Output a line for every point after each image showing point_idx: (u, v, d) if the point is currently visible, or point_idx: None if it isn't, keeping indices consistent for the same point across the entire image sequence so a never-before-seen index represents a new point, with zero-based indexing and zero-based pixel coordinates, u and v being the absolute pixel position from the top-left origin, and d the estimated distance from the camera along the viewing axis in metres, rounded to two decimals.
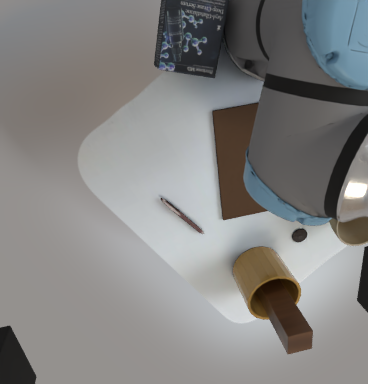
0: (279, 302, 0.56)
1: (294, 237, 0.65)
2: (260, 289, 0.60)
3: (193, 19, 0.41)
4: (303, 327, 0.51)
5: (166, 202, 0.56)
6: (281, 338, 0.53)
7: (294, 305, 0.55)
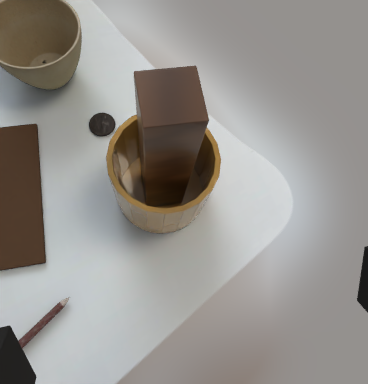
0: (141, 151, 0.26)
1: (103, 131, 0.39)
2: (152, 187, 0.30)
3: None
4: (136, 94, 0.21)
5: None
6: (189, 139, 0.22)
7: (137, 119, 0.25)
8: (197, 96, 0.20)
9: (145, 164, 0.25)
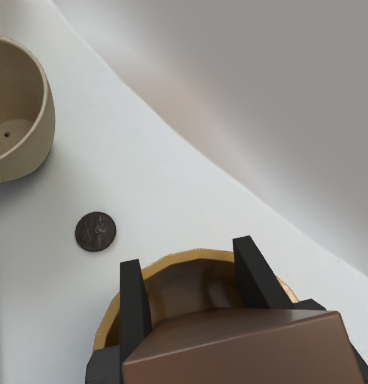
0: None
1: (97, 245, 0.24)
2: None
3: None
4: None
5: None
6: None
7: None
8: None
9: None
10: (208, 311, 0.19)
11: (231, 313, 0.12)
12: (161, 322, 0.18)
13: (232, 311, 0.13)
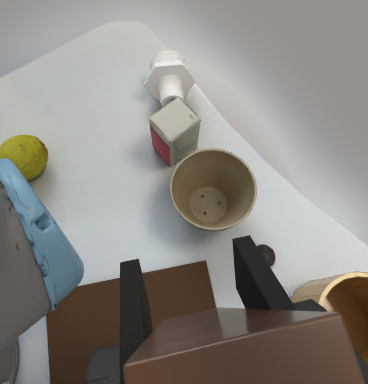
0: None
1: None
2: None
3: None
4: None
5: None
6: None
7: None
8: None
9: None
10: (208, 311, 0.19)
11: (232, 314, 0.12)
12: (161, 322, 0.18)
13: (233, 312, 0.13)
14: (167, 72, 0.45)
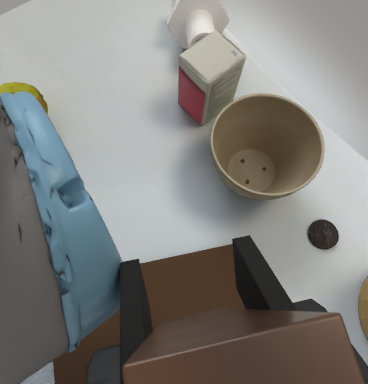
0: None
1: (327, 244, 0.33)
2: None
3: None
4: None
5: None
6: None
7: None
8: None
9: None
10: (208, 312, 0.19)
11: (231, 314, 0.12)
12: (161, 323, 0.18)
13: (232, 312, 0.13)
14: (196, 6, 0.36)
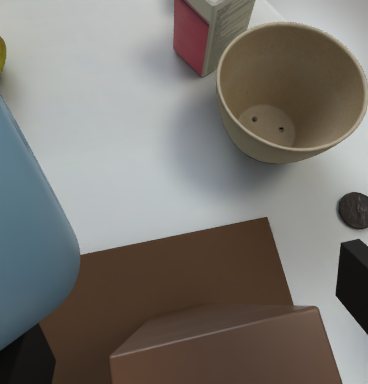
0: None
1: (363, 223, 0.26)
2: None
3: None
4: None
5: None
6: None
7: None
8: None
9: None
10: (198, 307, 0.19)
11: (219, 308, 0.12)
12: (152, 317, 0.18)
13: (221, 307, 0.14)
14: None
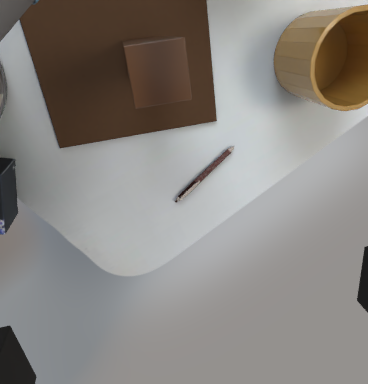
0: None
1: None
2: None
3: None
4: None
5: (180, 197, 0.46)
6: None
7: None
8: (183, 74, 0.22)
9: None
10: (151, 37, 0.33)
11: None
12: (124, 41, 0.33)
13: (161, 37, 0.28)
14: None
